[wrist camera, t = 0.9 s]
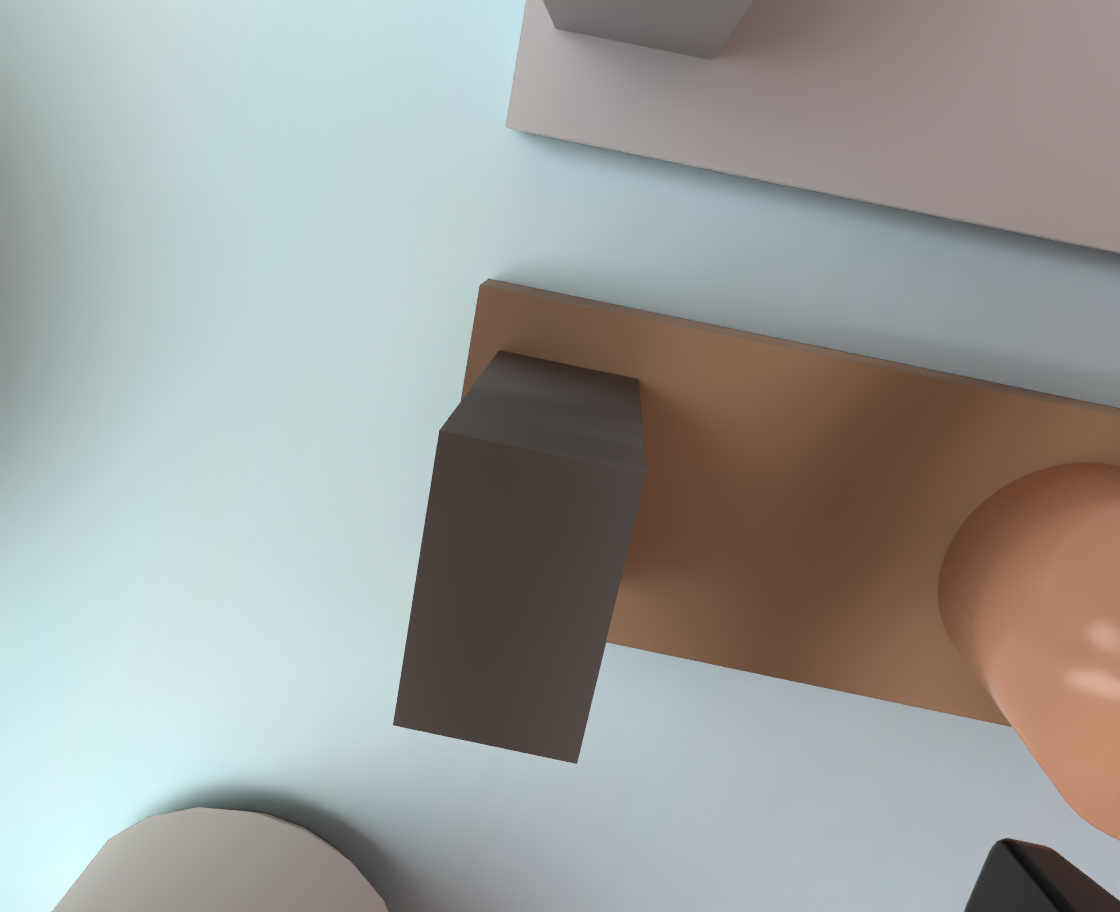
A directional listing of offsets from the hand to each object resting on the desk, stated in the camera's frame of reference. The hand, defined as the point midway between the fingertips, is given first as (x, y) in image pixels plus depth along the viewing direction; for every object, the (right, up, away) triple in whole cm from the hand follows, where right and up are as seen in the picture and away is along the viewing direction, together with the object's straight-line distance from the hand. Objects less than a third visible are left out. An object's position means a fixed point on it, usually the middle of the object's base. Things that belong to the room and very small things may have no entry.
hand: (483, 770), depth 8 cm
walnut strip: (+6, +2, +9) cm, 11 cm away
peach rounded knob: (+10, +1, +7) cm, 12 cm away
